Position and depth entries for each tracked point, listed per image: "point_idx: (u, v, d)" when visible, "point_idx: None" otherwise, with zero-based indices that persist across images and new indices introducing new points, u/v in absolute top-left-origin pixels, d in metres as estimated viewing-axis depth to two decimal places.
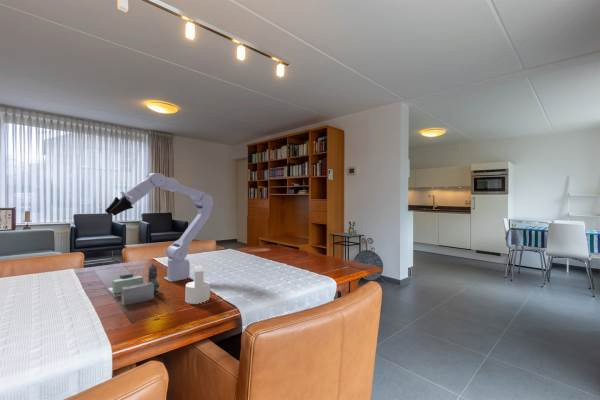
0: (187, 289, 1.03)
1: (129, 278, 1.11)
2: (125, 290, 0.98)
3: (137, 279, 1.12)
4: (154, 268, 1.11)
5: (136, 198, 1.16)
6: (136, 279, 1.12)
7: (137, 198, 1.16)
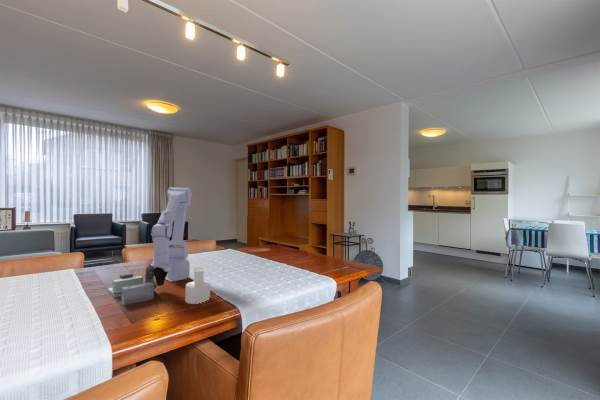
0: (187, 289, 1.03)
1: (129, 278, 1.11)
2: (125, 290, 0.98)
3: (137, 279, 1.12)
4: (151, 268, 1.10)
5: (166, 260, 1.13)
6: (136, 279, 1.12)
7: (167, 259, 1.14)
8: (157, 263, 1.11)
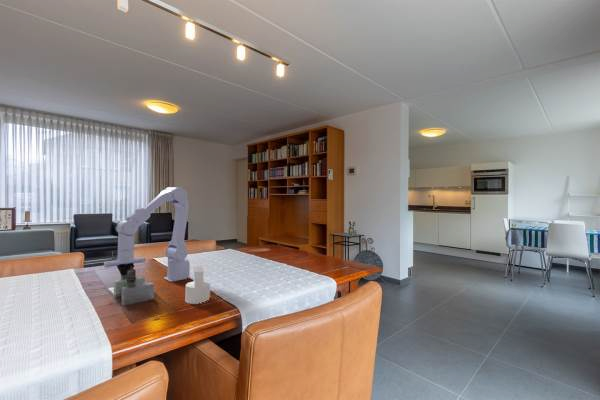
0: (187, 289, 1.03)
1: None
2: (125, 290, 0.98)
3: (138, 280, 1.11)
4: (133, 271, 1.05)
5: (119, 257, 1.11)
6: (137, 280, 1.10)
7: (120, 256, 1.11)
8: None
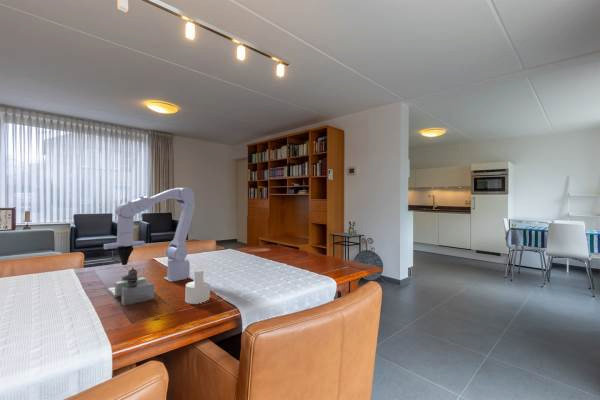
0: (187, 289, 1.03)
1: None
2: (125, 290, 0.98)
3: (140, 281, 1.10)
4: (134, 272, 1.04)
5: (118, 239, 1.12)
6: (139, 281, 1.10)
7: (119, 238, 1.12)
8: None
